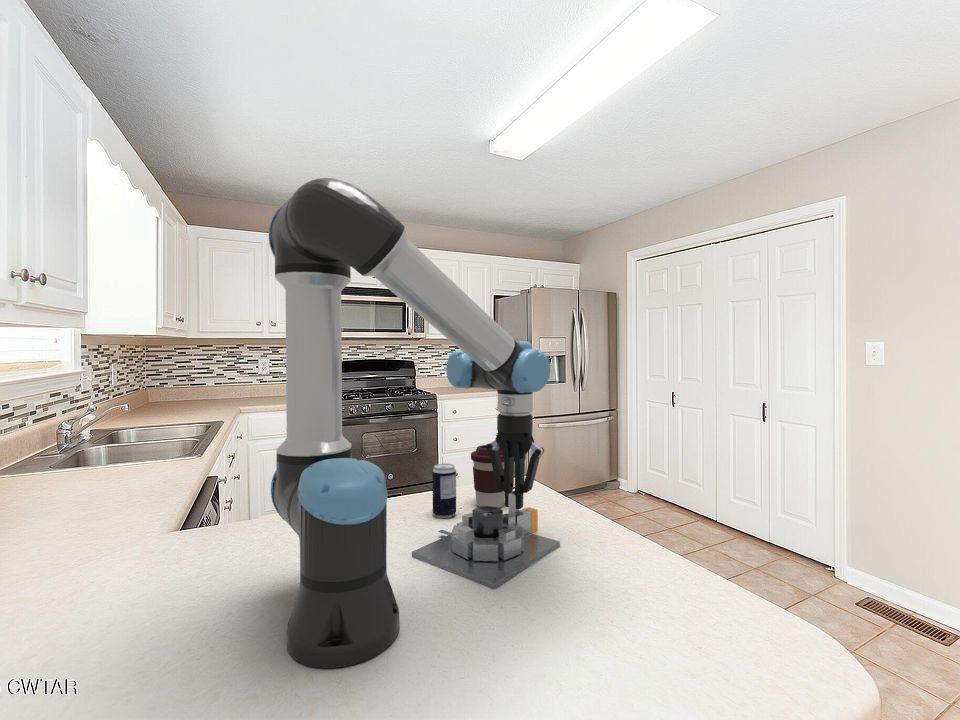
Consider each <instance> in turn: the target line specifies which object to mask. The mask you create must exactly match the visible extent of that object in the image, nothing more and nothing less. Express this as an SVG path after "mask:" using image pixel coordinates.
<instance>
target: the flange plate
mask: <svg viewBox="0 0 960 720" xmlns="http://www.w3.org/2000/svg"><path fill="white" fill-rule="evenodd" d="M471 513H472V529H474V537H477V538H498V537H499V530H501V529H503V514H504V511H503V509H502V508H501V507H500V508H497V507H492V506H483V507H479V506H477V507H475V508H473V509H472V512H471ZM437 532H438V533H440V534H443V535H446V536H444V537H441V538H440V539H437V540H435V541H432V542H430V543H428V544H425V545H423V546H421V547H418V548H417V549H415V550H413V551H411V557H412V558H414V559H417V560H419V561H421V562H424V563H426V564H430V565H431V566H435V567H437V568H440V569H442V570H444V571H447V572H451V573H453V574H455V575H457V576H460V577H463V578H466V579H468V580H470V581H473V582H476V583H478V584H480V585H483V586H486V587H489V588H491V589H495V590H496V589H497V588H498V587H500V586H502V585H503V584H504V583H506V582H507V581H510V579H512V578H514V577H515V576H517V575H518V574H520V573H521V572H523V571H525V570H526V569H527V568H529V567H531V566H532V565H534V564H535V563H537V562H538V561H540V560H541V559H543V558H544V557H546V556H548V555H549V554H551V553H552V552H554V551H555V550H557V549H558V548H560V547H561V541H559V540H556V539H552V538H549V537H545V536H542V535H538V531H536V532H533V533H529V534H527V535H524V536H523V551H521V554H519V555H516V556H514V557H511V558H509V559H506V560H502V559H500V558H498V561H473V558H470V559H466V558H464V557H462V556H460V555H458V554H456V553H454V552H452V549H451V532H450V531H446V530H443V529H440V530H438V531H437ZM536 533H537V534H536Z"/></svg>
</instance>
